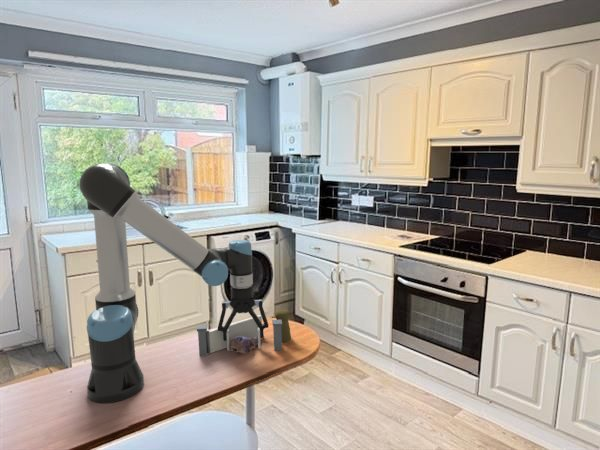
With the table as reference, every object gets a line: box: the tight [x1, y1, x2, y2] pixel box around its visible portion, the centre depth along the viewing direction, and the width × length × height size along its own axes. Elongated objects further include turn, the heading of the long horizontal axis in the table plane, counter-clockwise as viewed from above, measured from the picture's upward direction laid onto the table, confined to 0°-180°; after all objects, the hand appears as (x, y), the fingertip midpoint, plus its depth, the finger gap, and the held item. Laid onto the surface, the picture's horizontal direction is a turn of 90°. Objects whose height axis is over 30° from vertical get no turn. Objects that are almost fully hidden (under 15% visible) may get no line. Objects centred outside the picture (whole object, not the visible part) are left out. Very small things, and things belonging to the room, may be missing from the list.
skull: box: [229, 336, 258, 355], centre depth 145 cm, size 12×8×6 cm, turn 136°
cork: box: [274, 309, 292, 344], centre depth 153 cm, size 6×6×11 cm
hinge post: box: [196, 323, 209, 357], centre depth 142 cm, size 3×4×10 cm
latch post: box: [271, 319, 283, 352], centre depth 146 cm, size 3×4×10 cm
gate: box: [206, 314, 263, 355], centre depth 149 cm, size 22×2×8 cm, turn 130°
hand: (243, 348), depth 146 cm, fingers open, 10 cm apart
